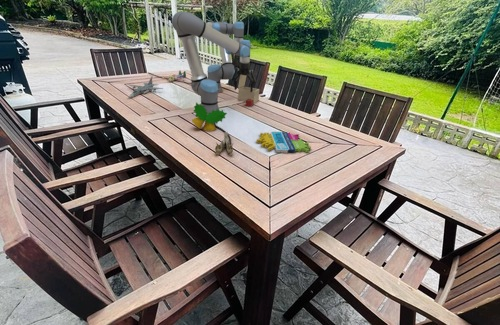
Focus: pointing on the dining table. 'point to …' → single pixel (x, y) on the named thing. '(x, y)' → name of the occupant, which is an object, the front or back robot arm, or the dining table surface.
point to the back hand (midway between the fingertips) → (237, 74)
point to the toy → (176, 77)
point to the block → (249, 102)
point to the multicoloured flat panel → (283, 142)
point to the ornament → (207, 117)
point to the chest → (248, 94)
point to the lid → (241, 80)
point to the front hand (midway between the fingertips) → (243, 90)
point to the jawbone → (224, 145)
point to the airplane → (143, 88)
